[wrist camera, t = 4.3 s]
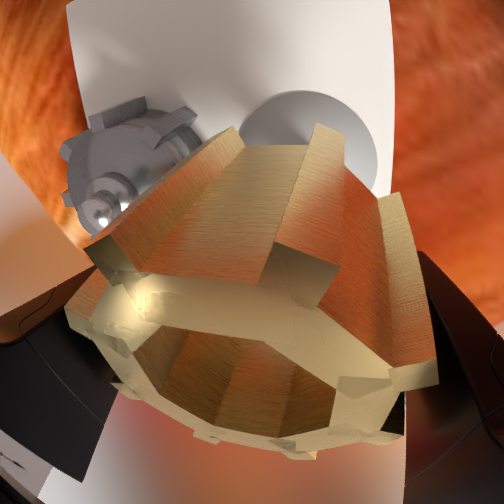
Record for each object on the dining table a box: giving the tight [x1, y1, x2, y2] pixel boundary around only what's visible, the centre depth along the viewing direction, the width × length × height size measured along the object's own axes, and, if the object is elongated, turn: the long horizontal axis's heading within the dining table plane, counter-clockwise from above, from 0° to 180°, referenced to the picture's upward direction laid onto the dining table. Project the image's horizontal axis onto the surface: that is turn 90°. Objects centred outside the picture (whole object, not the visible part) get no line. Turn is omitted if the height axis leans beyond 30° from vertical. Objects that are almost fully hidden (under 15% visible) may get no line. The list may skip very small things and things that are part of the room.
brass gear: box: [64, 123, 439, 460], centre depth 7 cm, size 7×7×5 cm
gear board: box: [66, 0, 394, 198], centre depth 11 cm, size 16×15×8 cm
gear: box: [59, 96, 203, 241], centre depth 14 cm, size 8×8×6 cm
